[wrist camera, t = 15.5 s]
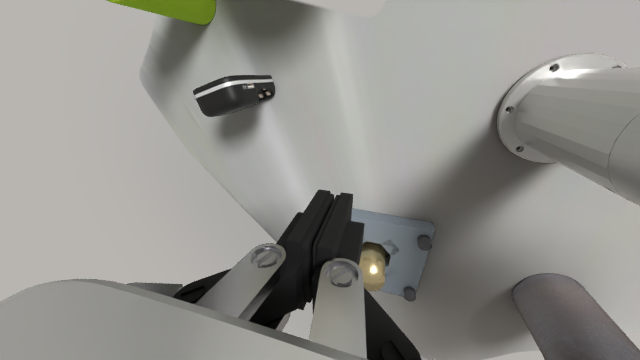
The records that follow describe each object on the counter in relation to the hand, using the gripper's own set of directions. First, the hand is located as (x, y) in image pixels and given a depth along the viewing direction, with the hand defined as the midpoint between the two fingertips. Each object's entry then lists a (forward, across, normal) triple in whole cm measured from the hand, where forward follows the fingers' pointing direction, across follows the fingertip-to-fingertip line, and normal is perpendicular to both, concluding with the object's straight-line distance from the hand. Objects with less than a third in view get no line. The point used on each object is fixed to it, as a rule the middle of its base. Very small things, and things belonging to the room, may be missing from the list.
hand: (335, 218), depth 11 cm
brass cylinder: (+27, -2, +24) cm, 36 cm away
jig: (+27, -2, +24) cm, 36 cm away
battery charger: (+27, +19, -4) cm, 33 cm away
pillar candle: (+27, -31, +27) cm, 49 cm away
